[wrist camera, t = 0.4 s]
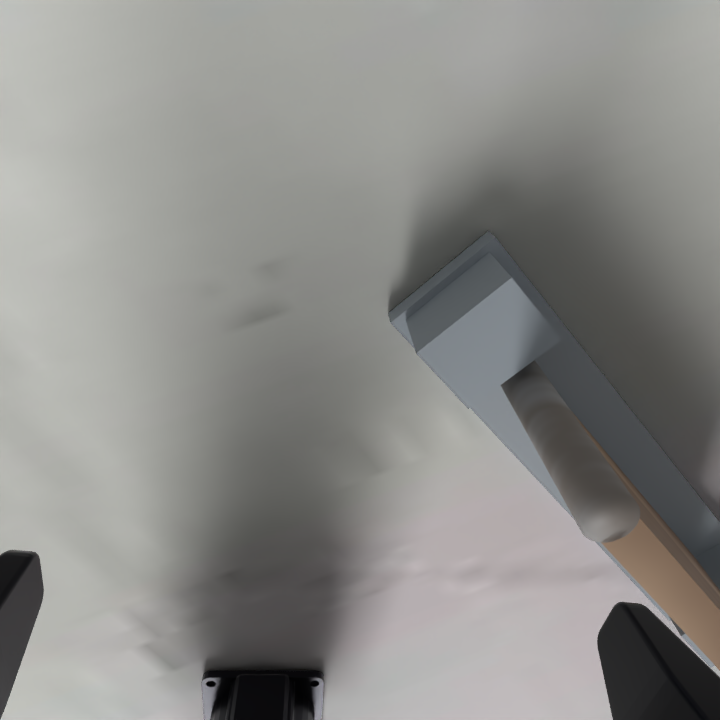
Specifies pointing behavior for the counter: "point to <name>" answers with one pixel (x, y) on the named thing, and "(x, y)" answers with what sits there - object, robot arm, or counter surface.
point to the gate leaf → (616, 510)
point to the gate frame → (563, 369)
